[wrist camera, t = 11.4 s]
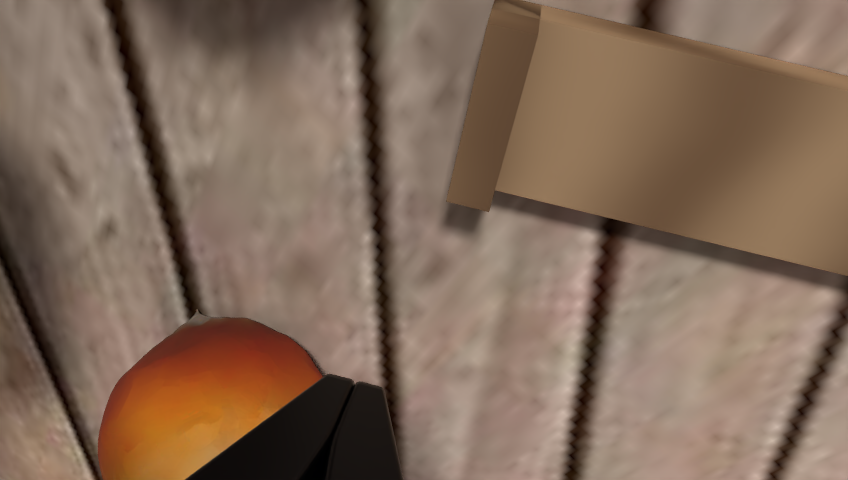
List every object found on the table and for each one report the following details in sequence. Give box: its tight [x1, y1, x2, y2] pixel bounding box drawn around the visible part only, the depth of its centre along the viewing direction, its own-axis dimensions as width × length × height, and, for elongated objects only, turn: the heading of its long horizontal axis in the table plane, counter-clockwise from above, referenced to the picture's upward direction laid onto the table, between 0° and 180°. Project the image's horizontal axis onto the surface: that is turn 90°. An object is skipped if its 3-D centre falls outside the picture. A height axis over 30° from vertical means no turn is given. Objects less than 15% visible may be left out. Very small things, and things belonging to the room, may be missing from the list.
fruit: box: [98, 310, 323, 480], centre depth 26 cm, size 8×8×8 cm
